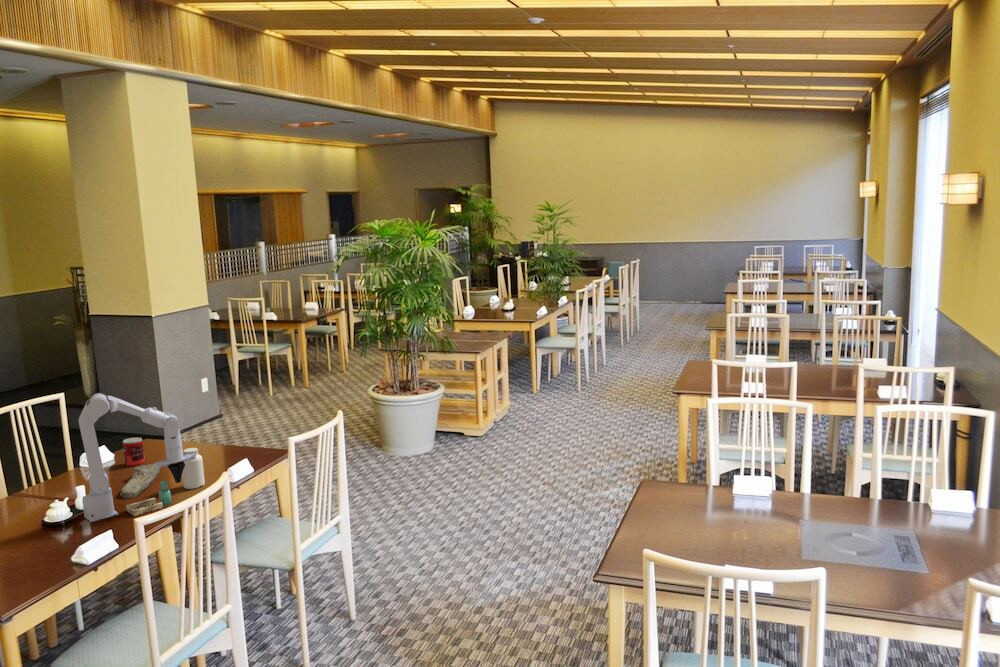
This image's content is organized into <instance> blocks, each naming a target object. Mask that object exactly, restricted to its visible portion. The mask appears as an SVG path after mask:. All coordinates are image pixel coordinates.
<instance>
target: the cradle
mask: <svg viewBox="0 0 1000 667" xmlns="http://www.w3.org/2000/svg"><path fill="white" fill-rule="evenodd" d="M152 504H153V505H152ZM148 505H149V506H148ZM145 506H146V507H145ZM162 507H163V508H164V506H163V503H162V502H160V501H159V502H158V503H157V499H156V498H155V497H152V498H148V499H144V500H142V501H137V502H134V503H130V504H127V505H125V511H126V512H127V513H129V514H130V513H131V514H130V515H132V516H133V517H137V515H138V516H140V515H139V514H141V515H144V514H143V513H144V512H148V513H150V512H149V511H150V510H155V511H157V510H156V509H159V508H160V509H159V510H161V509H163V508H162ZM138 508H139V509H138Z"/></svg>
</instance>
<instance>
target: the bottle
mask: <svg viewBox="0 0 1000 667" xmlns="http://www.w3.org/2000/svg"><path fill="white" fill-rule="evenodd" d="M159 485H160V490H159V491H158V496H159V503H160V502H162V503H163V507H165V506H169V505H171V504H172V503H173V500H172V493H171V488H168V481H167V480H160V481H159Z"/></svg>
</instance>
